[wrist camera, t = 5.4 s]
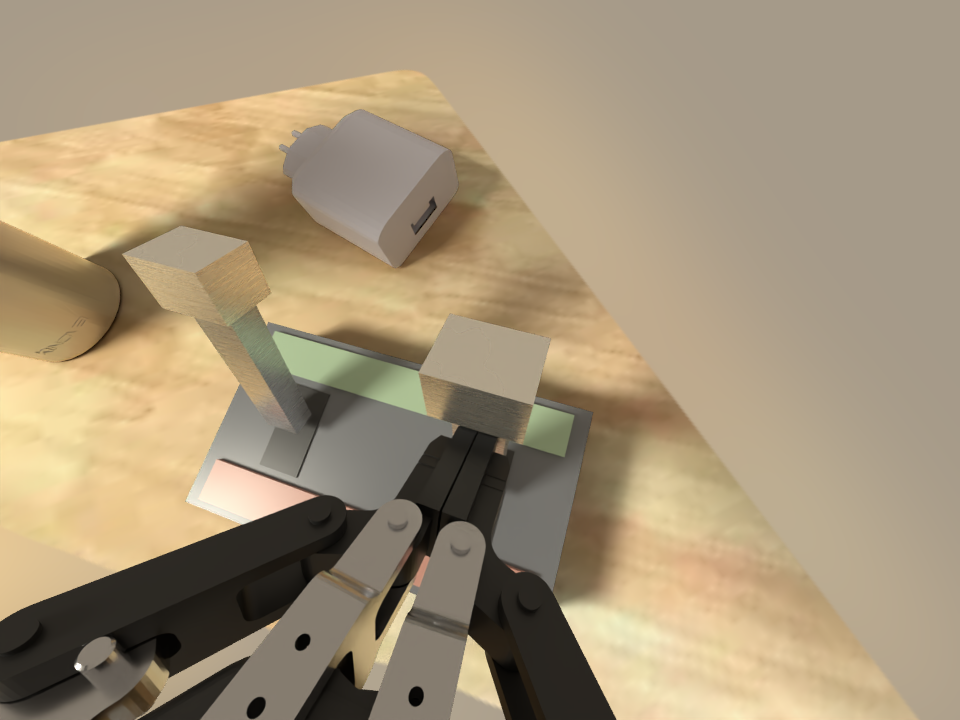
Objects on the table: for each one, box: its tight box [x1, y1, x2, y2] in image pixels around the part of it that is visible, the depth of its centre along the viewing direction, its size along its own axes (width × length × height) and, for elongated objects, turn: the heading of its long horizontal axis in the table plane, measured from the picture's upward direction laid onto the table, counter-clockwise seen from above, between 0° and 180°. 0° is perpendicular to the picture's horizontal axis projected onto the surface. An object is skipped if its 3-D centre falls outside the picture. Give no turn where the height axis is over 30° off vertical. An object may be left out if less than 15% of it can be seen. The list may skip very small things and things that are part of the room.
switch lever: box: [419, 314, 551, 456], centre depth 14 cm, size 2×3×11 cm
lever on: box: [122, 226, 312, 434], centre depth 17 cm, size 2×3×11 cm
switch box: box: [185, 322, 593, 595], centre depth 22 cm, size 12×22×4 cm, turn 73°
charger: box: [279, 109, 459, 268], centre depth 29 cm, size 5×9×15 cm
